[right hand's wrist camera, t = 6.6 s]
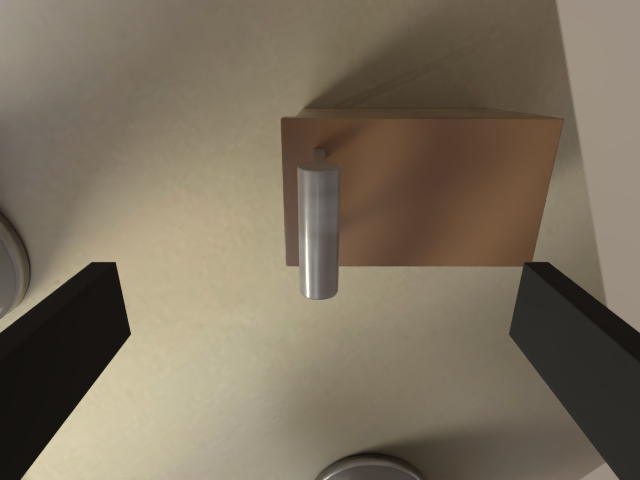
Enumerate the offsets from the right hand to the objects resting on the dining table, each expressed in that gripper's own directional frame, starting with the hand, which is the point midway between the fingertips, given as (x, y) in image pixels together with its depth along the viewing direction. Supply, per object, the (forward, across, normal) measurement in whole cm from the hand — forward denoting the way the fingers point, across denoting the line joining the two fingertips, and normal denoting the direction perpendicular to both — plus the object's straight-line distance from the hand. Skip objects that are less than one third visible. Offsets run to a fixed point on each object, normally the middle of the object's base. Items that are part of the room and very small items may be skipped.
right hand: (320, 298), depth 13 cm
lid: (+14, -6, 0) cm, 15 cm away
